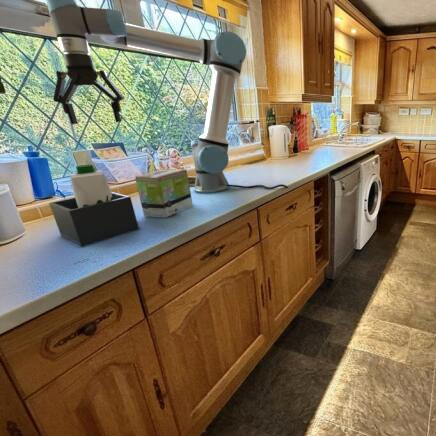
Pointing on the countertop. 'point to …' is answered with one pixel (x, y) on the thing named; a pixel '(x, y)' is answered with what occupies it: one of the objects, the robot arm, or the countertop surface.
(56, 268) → the countertop surface
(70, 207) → the waste bin
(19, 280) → the countertop surface
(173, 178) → the tea box
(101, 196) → the soya milk
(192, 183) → the toy sandwich meal
